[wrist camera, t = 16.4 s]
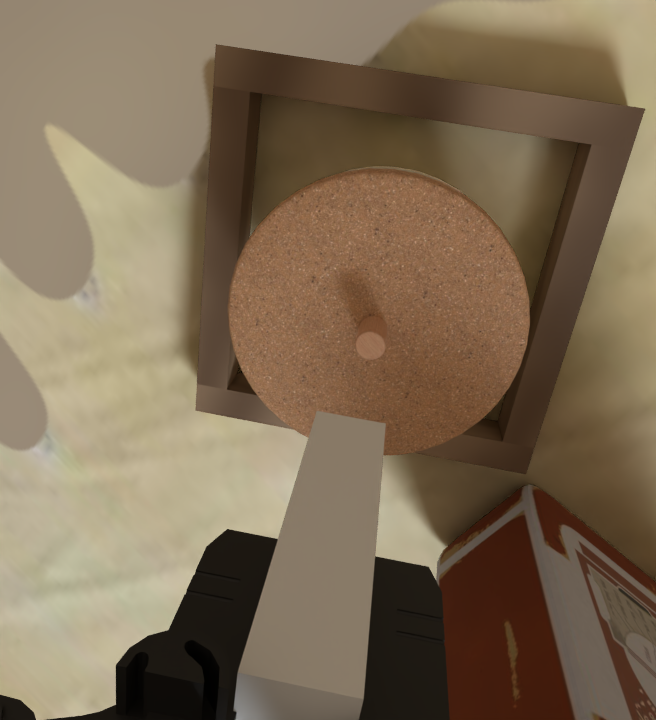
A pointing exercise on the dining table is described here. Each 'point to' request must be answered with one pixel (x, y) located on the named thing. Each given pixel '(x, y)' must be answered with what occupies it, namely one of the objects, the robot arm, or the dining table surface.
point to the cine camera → (545, 619)
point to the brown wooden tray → (435, 102)
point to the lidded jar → (380, 307)
